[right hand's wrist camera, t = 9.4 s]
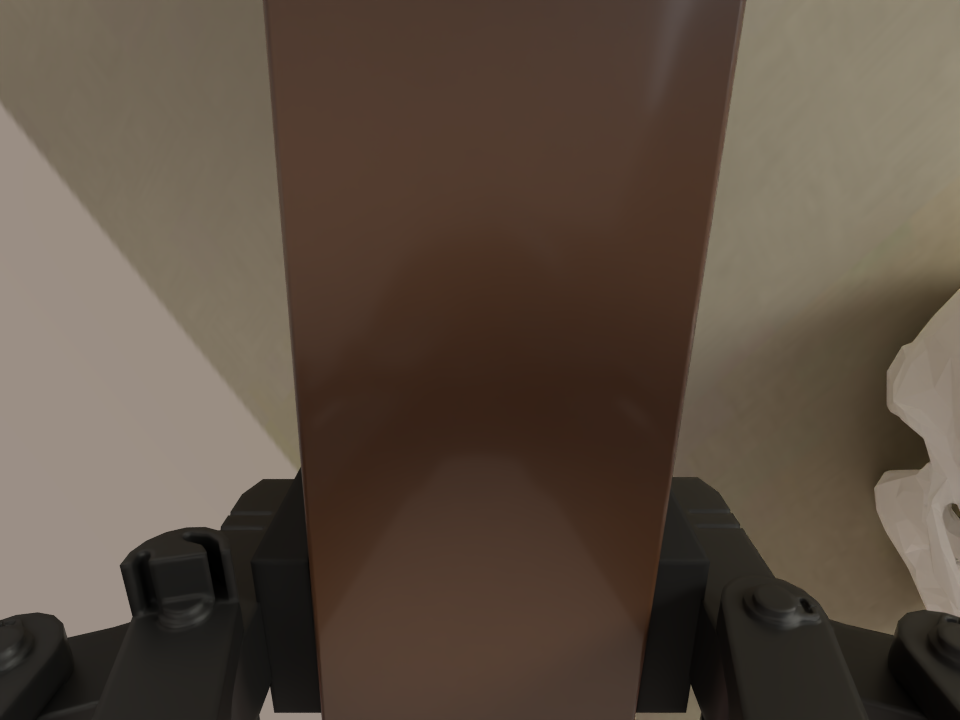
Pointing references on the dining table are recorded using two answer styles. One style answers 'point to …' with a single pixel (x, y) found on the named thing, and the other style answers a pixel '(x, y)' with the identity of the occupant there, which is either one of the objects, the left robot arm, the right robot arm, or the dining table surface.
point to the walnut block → (492, 334)
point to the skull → (945, 479)
